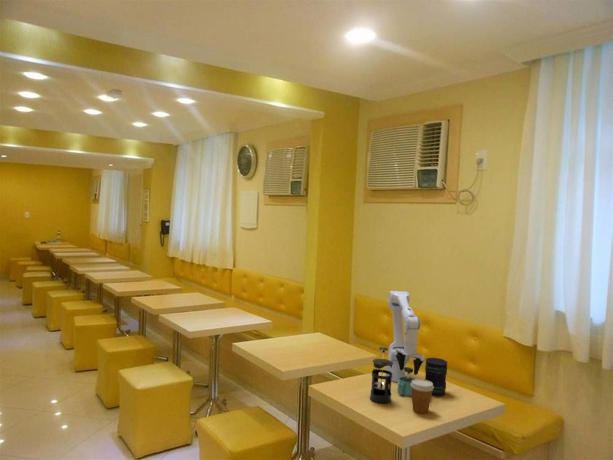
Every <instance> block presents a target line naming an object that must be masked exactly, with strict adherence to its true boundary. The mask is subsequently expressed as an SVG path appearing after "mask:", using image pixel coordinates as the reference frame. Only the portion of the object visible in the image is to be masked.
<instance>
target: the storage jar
mask: <svg viewBox="0 0 613 460" xmlns="http://www.w3.org/2000/svg"><path fill="white" fill-rule="evenodd" d="M424 366H425V368H424V372H425V377H424V380H427V381H430V382H432V383H433V386H434V388H433V390H432V395H431V397H435V398H439V397H444V396H446V390H447V382H446V379H447V374H448V361H447V360H445V359H442V358H437V357H427V358H426V359H425V364H424Z"/></svg>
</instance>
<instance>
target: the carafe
mask: <svg viewBox="0 0 613 460" xmlns="http://www.w3.org/2000/svg"><path fill="white" fill-rule="evenodd" d="M414 379H416V378H415V377H413V376H409V383H406V382H407V376H405V377H403V376H402V377H400V378H398V382H397V393H398V394H399V395H402V396H404V397H412V387H411V382H412V380H414Z"/></svg>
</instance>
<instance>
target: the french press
mask: <svg viewBox="0 0 613 460" xmlns="http://www.w3.org/2000/svg"><path fill="white" fill-rule="evenodd" d="M378 349H379V350H380V351H382V358H375V359H372V363H373V364H372V365H373V369H372V371H371V379H372V380H371V388H370V389H371V390H370V396H369V399H370V401H371V402H372V403H376V404H380V405H381V404H382V405H385V404H386V405H387V404H390V403H391V402H392V392H391V391H392V380H391V378H392V375H393V374H392V372H390V371H387V370H386V369H384V367H385V368H386V366H390V367H391V368H392V365H393V362H392V361H390V360H389V359H386V358H384V356H385V351H389V347H384V346H382V347H378ZM380 373H381V375H380ZM385 373H387V374H389V376H385V375H383V374H385ZM379 379H380V381H379ZM383 380H384V381H385V382H383Z"/></svg>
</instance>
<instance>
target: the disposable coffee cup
mask: <svg viewBox="0 0 613 460" xmlns="http://www.w3.org/2000/svg"><path fill="white" fill-rule="evenodd" d="M411 387H412V396H411V398H412V399H411V402H412V411H413V412H415V413H416V414H419V415H420V414H421V415H425V414H428V413H429V411H430V410H429V409H430V403H431V399H432V396H431V395H432V390H433V388H434V386H433V383H432V382H430V381H427V380H425V379H422V378H415V379H414V380H412V382H411Z"/></svg>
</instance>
